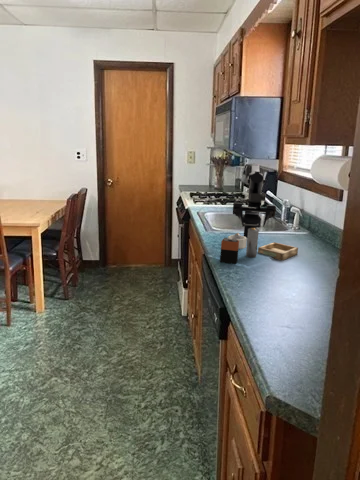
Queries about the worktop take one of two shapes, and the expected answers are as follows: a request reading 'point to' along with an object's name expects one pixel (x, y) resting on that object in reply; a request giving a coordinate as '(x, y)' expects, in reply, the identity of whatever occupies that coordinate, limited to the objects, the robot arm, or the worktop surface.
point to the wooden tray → (278, 250)
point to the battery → (229, 250)
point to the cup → (240, 241)
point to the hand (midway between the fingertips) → (253, 225)
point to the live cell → (252, 242)
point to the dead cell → (237, 236)
